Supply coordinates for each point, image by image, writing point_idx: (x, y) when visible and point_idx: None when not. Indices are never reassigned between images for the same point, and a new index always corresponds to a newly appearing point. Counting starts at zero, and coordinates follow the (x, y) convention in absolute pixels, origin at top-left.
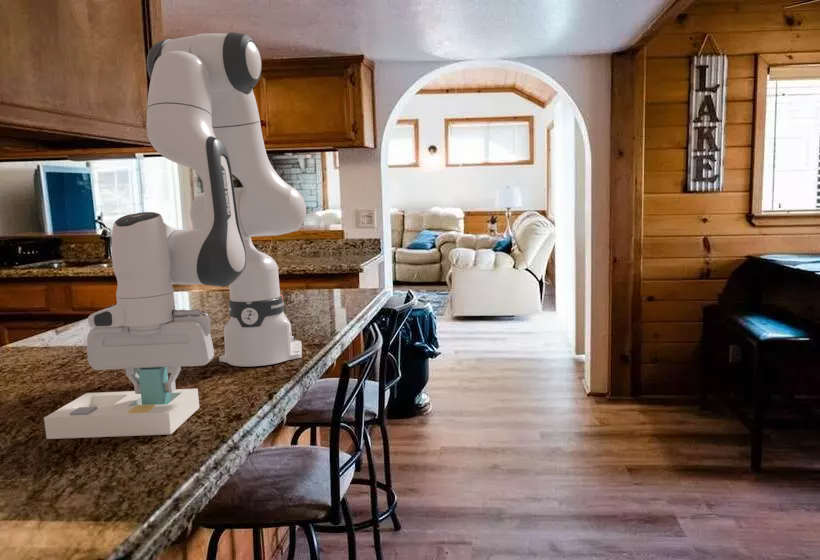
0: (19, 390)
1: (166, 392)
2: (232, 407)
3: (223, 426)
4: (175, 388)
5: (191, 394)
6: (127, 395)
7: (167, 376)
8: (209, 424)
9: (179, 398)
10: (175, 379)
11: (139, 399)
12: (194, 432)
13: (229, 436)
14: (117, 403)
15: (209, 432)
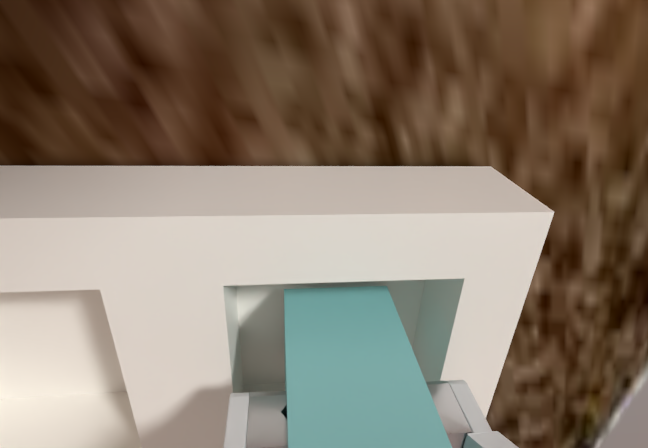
0: None
1: None
2: (644, 159)
3: (588, 359)
4: (465, 385)
5: (520, 305)
6: (107, 305)
7: (444, 439)
8: (542, 342)
9: (468, 370)
10: (500, 441)
11: (229, 347)
12: (497, 398)
13: (600, 422)
14: (149, 420)
15: (544, 399)
